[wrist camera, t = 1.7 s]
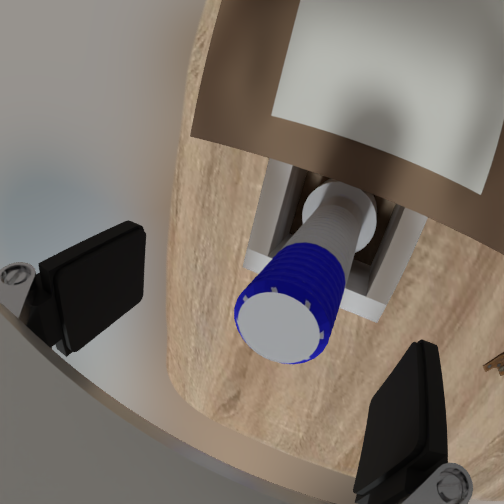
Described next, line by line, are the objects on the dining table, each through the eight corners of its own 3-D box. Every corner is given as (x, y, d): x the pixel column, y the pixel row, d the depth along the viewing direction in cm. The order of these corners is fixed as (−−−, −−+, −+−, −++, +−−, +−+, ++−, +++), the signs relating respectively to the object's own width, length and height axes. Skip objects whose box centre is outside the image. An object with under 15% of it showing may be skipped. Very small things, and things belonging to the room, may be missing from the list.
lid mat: (516, 8, 6) (518, 6, 6) (478, 193, 11) (480, 195, 10) (317, -57, 9) (316, -60, 8) (273, 115, 13) (271, 115, 13)
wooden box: (522, 53, 12) (578, 24, 4) (433, 310, 22) (444, 387, 14) (295, -24, 16) (249, -81, 9) (233, 229, 27) (171, 272, 19)
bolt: (313, 238, 24) (310, 175, 23) (376, 242, 22) (377, 176, 21) (216, 372, 11) (193, 246, 9) (351, 399, 9) (367, 258, 7)
